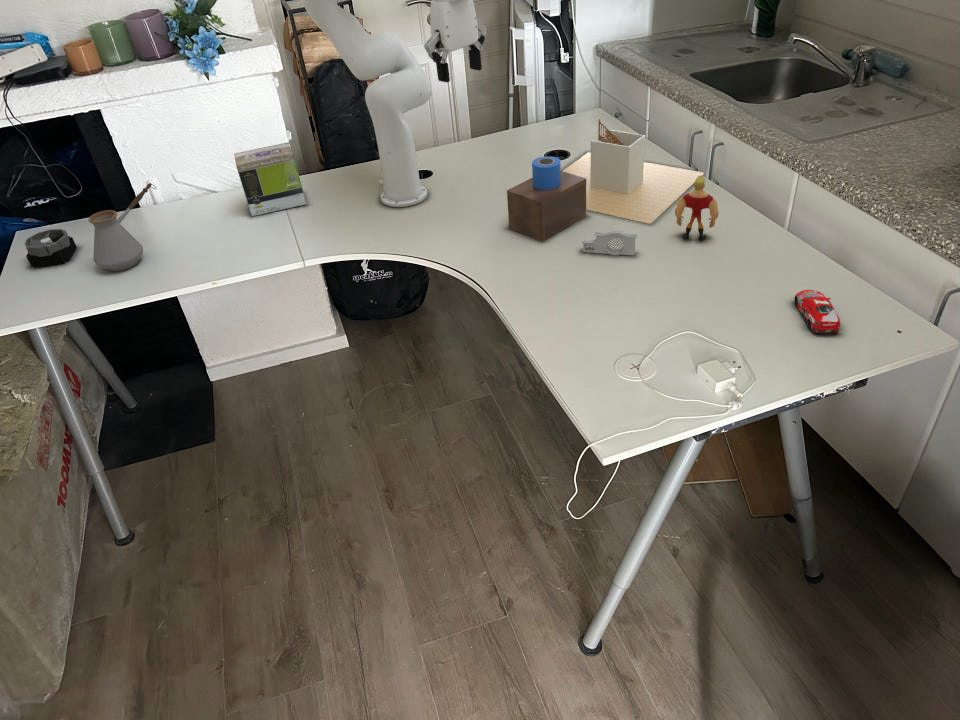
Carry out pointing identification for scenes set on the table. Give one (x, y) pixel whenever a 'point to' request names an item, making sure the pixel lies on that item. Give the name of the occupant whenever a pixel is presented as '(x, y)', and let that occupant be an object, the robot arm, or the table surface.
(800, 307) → the race car
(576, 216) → the brown boxy piece
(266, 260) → the table surface
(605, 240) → the lattice window wall
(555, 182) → the tape
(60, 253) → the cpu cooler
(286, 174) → the tea box
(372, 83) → the robot arm
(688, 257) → the table surface
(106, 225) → the coffee pot
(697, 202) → the action figure
